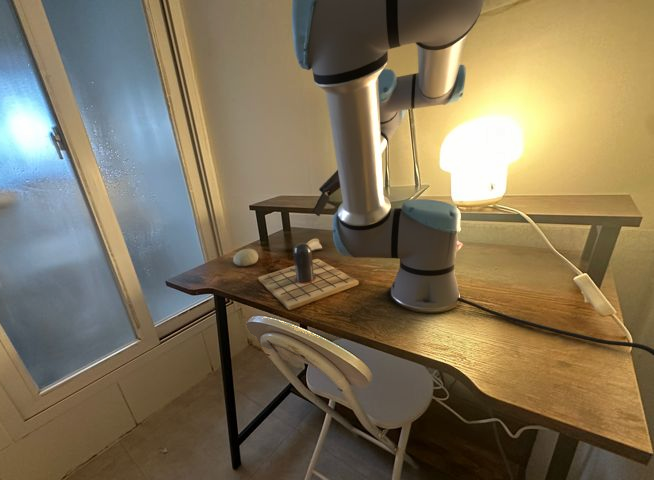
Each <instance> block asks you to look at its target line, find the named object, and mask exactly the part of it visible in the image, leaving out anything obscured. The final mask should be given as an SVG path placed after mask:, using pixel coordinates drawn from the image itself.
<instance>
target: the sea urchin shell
mask: <svg viewBox="0 0 654 480" xmlns="http://www.w3.org/2000/svg"><path fill="white" fill-rule="evenodd" d="M258 260H259V254H258V252H257V250H255V249H254V248H243V249H241V250H239V251H237V252H236V253H235V254H234V255H233V258H232V262H233V263H234V265H236V266H238V267H245V268H246V267H249V266H252V265H254V264H256V263H257V262H258Z"/></svg>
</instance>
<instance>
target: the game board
mask: <svg viewBox="0 0 654 480" xmlns="http://www.w3.org/2000/svg"><path fill="white" fill-rule="evenodd" d="M312 261H313V272H314V279H313V280H312V281H309V282H299V281H297V278H296V270H295V265H291V266H289V267H286V268H283V269H279V270H277V271H273V272H270V273H267V274H263V275H261V276H258V277H257V278H258V281H259V282H260V283H261V284H262V285H263V286H264V287H265V289H267V290H268V292H270V293H271V294H272V295H273V296H274V297H275V298H276V299H277V300H278V301H280V303H281V304H282V305H283V306H285V308H286V309H287V310H288V311H291V310H294V309H297V308H300V307H302V306H306V305H308V304H310V303H313V302H316V301H319V300H321V299H324V298H326V297H330V296H332V295H334V294H337V293H340V292H343V291H345V290H348V289H351V288H354V287H356V286H357V287H358V286H359V285H360V283H359V280H357V279H355V278H354V277H352V276H351V275H348V274H347V273H344V272H343V271H342V270H339V269H337V268H336V267H334V266H332V265H330V264H329V263H326V262H324V261H323V260H321V259H320V258H314V259H312Z"/></svg>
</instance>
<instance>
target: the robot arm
mask: <svg viewBox="0 0 654 480" xmlns="http://www.w3.org/2000/svg"><path fill="white" fill-rule="evenodd" d="M484 1H485V0H292V5H291V6H292V7H291V32H292V33H291V34H292V43H293V49H294V54H295V57H296V60H297V62H298V65H299V67H300V68H301V69H303V70H306V71H310V70H312V75H313V81H314V84H315V85H316V86H317V87H319V88H321V89H322V90H323V91H324V92H325V97H326V103H327V109H328V115H329V116H328V117H329V124H330V130H331V135H332V143H333V148H334V155H335V160H336V166H337V170H336V171H334V173H333V174H332V175H331V176H330V177H329V178H328V179H327V180H326V181H325V182H323V184H322V185H321V186H320V187H319V188H318V190H319V192H320V193H321V194H320V196H319V197H318V200H317V201H316V204H315V206H314V207H313V209H312V213H314V214H315V216H317V217H320V216H321V214H322V212H323V211H324V209H325V207H326V205H327V204H328V202H329V200H330V199H331V198H330V196H331V195H332V194H334V193H335V192H337V191H338V190H340V191H341V199H342V202H341V203H340V205H338V208H337V211H336V212H335V213H334V215H333V218H332V225H331V226H332V229H331V230H332V238H333V243H334V246H335V248H336V250H337V252H338V253H339V254H340V255H341V256H344V257H349V258H350V257H351V258H354V259H359V258H367V259H369V258H371V259H399V267H398V270H397V273H396V275H395V278H394V280H393V283H392V284H391V289H390V298H391V300H392V301H393V302H394V303H395V304H396V305H397V306H399V307H401V308H403V309H405V310H409V311H412V312H417V313H423V314H439V313H443V312H444V313H445V312H447V311H450V310H453V309H454V308H456V307H457V306H458V305H459V302H461V303H464V304H466V305H469V306H471V307H474V308H476V309H478V310H480V311H483V312H486V313H488V314H491V315H494V316H497V317H499V318H502V319H505V320H509V321H512V322H516V323H519V324H523V325H526V326H530V327H535V328H536V329H537V328H538V329H542V330H545V331H548V332H553V333H556V334H559V335H564V336H568V337H572V338H577V339H580V340H585V341H588V342H594V343H598V344H603V345H608V346H618V347H628V348H635V349H640V350H643V351H646V352H648V353H650V354H651V355H652V356H654V348H652V347H650V346H648V345H645V344H641V343H638V342H629V341H619V340H609V339H603V338H598V337H595V336H589V335H585V334H581V333H580V334H579V333H576V332H572V331H569V330H564V329H559V328H557V327H556V328H555V327H551V326H547V325H544V324H539V323H535V322H532V321H528V320H526V319H522V318H517V317H515V316H511V315H508V314H505V313H502V312H498V311H495V310H493V309H490V308H487V307H485V306H483V305H480V304H477V303H475V302H473V301H470V300H468V299H464V298H462V297H461V294H460V288H459V285H458V280H457V277H456V273H455V266H456V259H457V252H458V251H457V243H458V241H459V233H460V232H461V230H462V228H461V218H462V217H461V216H462V215H461V211H460V209H459V208H458V207H457V206H456V205H455V204H451V203H450V202H445V201H442V200H436V199H427V198H417V199H408V200H406V201H404V202H402V204H401V207H399V208H398V207H392V204H391V201H390V199H389V198H388V197H387V196H385V195H384V186H383V162H382V161H383V159H382V155H383V153H384V151H385V150H386V148H387V147H388V145H389V143H390V141H391V139H392V138H393V136H394V134H395V133H396V131H397V129H398V128H399V126H400V125H401V124H402V121H403V120H404V117H405V115H406V111H409V110H413V109H414V110H415V109H421V108H427V107H434V106H444V105H448V104H453V103H456V102H459V101H461V99H462V98H463V96H464V91H465V85H466V74H467V69H466V68H467V67H466V66H465V64H461V63H462V62H461V61H462V58H463V53H464V49H465V45H466V41H467V37H468V35H469V33H470V32H471V31H472V29H473V28H474V27H475V25H476V24H477V22H478V20H479V18H480V15H481V12H482V9H483V6H484ZM411 44H415V45H416V47H417V69H418V70H417V71H418V72H416V73H409V74H405V75H401V76H397V75H396V73H395V71H394V70H393V69H390V68H389V69H388V68H386V66H387V64H388V63H389V62H388V61H389V57H388V56H389V53H388V50H391V49H395V48H400V47H403V46H405V45H411ZM456 251H457V252H456Z"/></svg>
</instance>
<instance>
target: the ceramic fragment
mask: <svg viewBox="0 0 654 480" xmlns="http://www.w3.org/2000/svg"><path fill="white" fill-rule="evenodd" d="M305 244H307V245H309V246H310V248H311V251H312V252H314V251H323V246H322V245H321V243H320V240H319V239H318V238H312V239H310V240H309V241H308V242H306V243H305Z"/></svg>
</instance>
